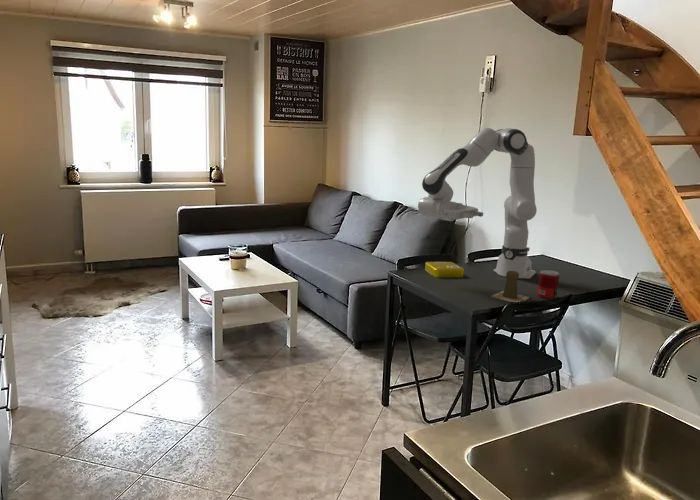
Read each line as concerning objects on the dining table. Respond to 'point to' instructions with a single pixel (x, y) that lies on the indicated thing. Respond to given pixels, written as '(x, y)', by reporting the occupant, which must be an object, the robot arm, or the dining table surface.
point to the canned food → (548, 284)
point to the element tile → (444, 269)
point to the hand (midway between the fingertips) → (477, 215)
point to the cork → (511, 285)
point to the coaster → (501, 297)
